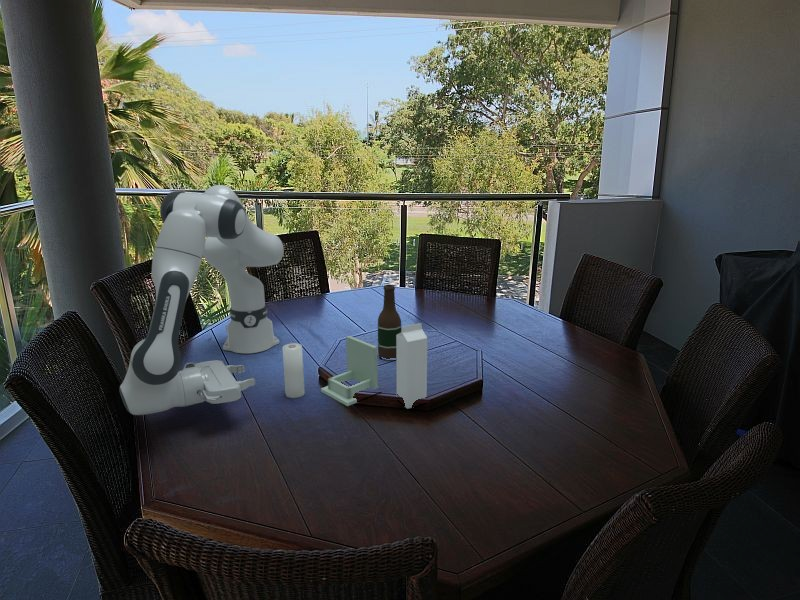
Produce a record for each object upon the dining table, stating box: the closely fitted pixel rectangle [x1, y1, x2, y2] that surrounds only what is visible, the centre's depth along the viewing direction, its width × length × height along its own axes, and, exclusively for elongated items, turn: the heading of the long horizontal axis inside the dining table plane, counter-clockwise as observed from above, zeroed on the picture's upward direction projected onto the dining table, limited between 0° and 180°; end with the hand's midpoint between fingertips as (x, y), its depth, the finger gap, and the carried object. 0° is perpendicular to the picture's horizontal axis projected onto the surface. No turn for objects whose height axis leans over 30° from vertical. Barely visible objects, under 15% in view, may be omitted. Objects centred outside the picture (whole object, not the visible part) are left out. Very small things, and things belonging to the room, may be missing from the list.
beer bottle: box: [377, 284, 402, 359], centre depth 172 cm, size 8×8×24 cm
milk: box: [395, 322, 428, 410], centre depth 142 cm, size 6×6×22 cm
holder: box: [320, 335, 379, 407], centre depth 149 cm, size 12×12×14 cm
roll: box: [282, 342, 305, 399], centre depth 148 cm, size 5×5×14 cm
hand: (249, 374), depth 141 cm, fingers open, 8 cm apart
